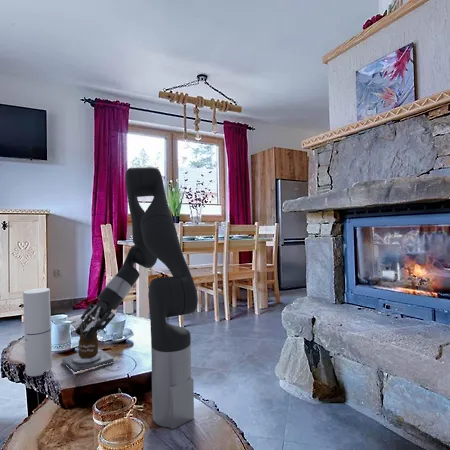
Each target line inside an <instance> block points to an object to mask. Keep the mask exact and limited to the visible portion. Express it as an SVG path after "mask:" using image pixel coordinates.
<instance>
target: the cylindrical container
mask: <svg viewBox="0 0 450 450" xmlns="http://www.w3.org/2000/svg"><path fill="white" fill-rule="evenodd" d="M50 290H51V289H50V288H47V287H40V288H39V287H38V288H37V287H36V288H31V289H30V288H29V289H26V290H24V291H22V294H23V295H22V297H23V298H22V299H23V301H22V302H23V324H24V325H23V327H24V330H23V331H24V357H25V358H24V359H25V360H24V362H25V375H26V376H29V377H39V376H42V375H44V374H43V373H44V372H45V371H47V370H50V369H51V368H52V369H53V351H52V349H53V347H52V322H51V320H52V318H51V293H50Z"/></svg>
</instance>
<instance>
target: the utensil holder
mask: <svg viewBox="0 0 450 450" xmlns="http://www.w3.org/2000/svg"><path fill="white" fill-rule="evenodd" d="M98 320H99V319H98ZM84 322H85V321H84ZM81 323H82V320H81V321H80V323H79V324H78V327H80V324H81ZM97 324H98V323H97ZM84 325H85V324H84ZM86 325H87V324H86ZM87 326H88V325H87ZM81 327H82V326H81ZM84 327H85V326H84ZM80 331H81V330H80ZM82 331H83V329H82ZM87 332H88V330H87V328H86V329H85V330H84V331H83V332H81V334H80V335H79V340H78V344H77V345H78V346H77V347H78V351H77V353H79V356H80V357H82V358H90V357H94V356H95V355H97V353H98V347H99V339H98V333H97V332H98V331H97V332H96V333H95V334H94V336H93V337H92V338H91V340H87V339H86V338H85V337H84V336H85V334H86V333H87Z"/></svg>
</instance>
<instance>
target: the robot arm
mask: <svg viewBox="0 0 450 450" xmlns="http://www.w3.org/2000/svg"><path fill="white" fill-rule="evenodd" d="M125 188H126V189H125V190H126V197H127V202H128V209H129V212H130V214H129V215H130V220H131V228H132V230H131V231H132V242H133V245H132V246H131V247H130V248H129V250H128V252H127V255H126V257H125V260H124V262H123V263H122V266H121V268H120V269H119V270H118V271H117V273H116V274H115V275H114V277H113V278H112V279H110V281H109V282H108V283H107V284H106V286H105V287H104V288H103V290H102V291H101V292H100V294H99V295H98V296H97V300H98V302H96V304H93V303H90V304H89V305H88V307H87V308H86V310H85V311H84V312H83V313H82V315H81V316H80V319H81V321H82V322H80V323H79V324H80V327H79V326H77V328H76V329H75V331H74V333H75V334H76V335H79V336H80V334H81V332H85V329H86V330H87V331H88V332H87V333H86V334H85V336H84V337H85V338H86V339H87V340H91V338H92V337H93V336H94V334H95V333H96V332H98V331H101V330H102V331H103V330H105V329H106V328H107V326H108V325H109V324H110V322H111V321H112V320H113V319H114V318H115V316H116V314H115V313H114V312H113V311H116V310H117V309H118V307H120V305H121V304H122V302H123V301H124V299H125V298H126V297H127V295H128V294H129V293H130V291H131V289H132V288H133V287H134V285H135V283H136V282H137V280H138V279H139V278H140V272H139V271H138V270H137V268H136V267H135V264H137V265H138V266H141V267H143V268H145V269H151V268H152V267H154V266H155V265H156V263H157V261H158V260H159V261H160V262H161V263H162V264H163V265H164V266H165V267H166V268H167V269H168V270H169V272H170V274H171V276H165V277H164V276H163V277H155V278H152V279H151V281H150V283H149V285H148V305H149V306H148V307H149V319H150V321H149V322H150V324H149V325H150V344H151V346H150V347H151V351H150V352H151V395H152V396H151V397H152V398H151V401H152V404H151V405H152V420H153V422H154V423H155V424H156V425H158V426H160V427H163V428H169V429H171V430H175V429H177V428H178V427H180V426H182V425H184V424H185V423H188V422H190V421H191V420H193V419H194V418H195V399H194V398H195V395H194V391H195V390H194V386H195V385H194V379H193V377H192V347H191V346H192V344H191V343H192V341H191V340H192V339H191V337H192V336H191V332H190V331H189V330H188V329H187V328H185V327H183V326H179V325H174V324H171V323H168V322H167V318H171V317H178V316H179V317H180V316H185V315H190V314H193V313H195V311H196V310H197V308H198V301H199V300H198V293H197V291H198V290H197V288H196V285H195V281H194V279H193V276H192V273H191V271H190V269H189V266H188V264H187V261H186V259H185V256H184V254H183V251H182V247H181V244H180V240H179V239H180V238H179V235H178V232H177V229H176V225H175V222H174V219H173V216H172V213H171V210H170V207H169V204H168V199H167V195H166V191H165V190H166V189H165V186H164V181H163V176H162V173H161V170H160V169H159V168H157V167H156V166H138V167H137V166H136V167H135V166H133V167H129V168H127V169H126V172H125ZM139 197H140V198H142V197H144V198H145V197H152V201H151V203H150V204H149V205H148V207H147V209H146V210H144V209H143V207H142V206H141V205H140V203H139V200H138V198H139ZM98 319H99V320H98ZM84 321H85V322H84ZM92 322H93V324H92V326H91V327H90V328H89V329H88V326H89V325H90V324H91V323H92ZM97 323H98V324H97ZM84 324H85V325H84ZM86 324H87V325H86ZM81 326H82V327H81ZM84 326H85V327H84ZM82 329H83V331H82ZM80 330H81V331H80Z"/></svg>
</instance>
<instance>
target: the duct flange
mask: <svg viewBox="0 0 450 450" xmlns="http://www.w3.org/2000/svg"><path fill="white" fill-rule="evenodd" d="M61 359H62V360H61V363H62V362H63V363H64V364H65V365H67V366H68V367H69V368H70V369H72V370H73V371H74V372H77V371H80V370H85V369H89V368H92V367H96V366H99V365H103V364H107V363H111V362H114V360H115V359H114V357H112V355H110V354H109V353H107V352H106V351H104V350H103V349H102V348H101V347H99V346H98V353H97V355H95V356H94V357H90V358H82V357H80V356H79V353H78V352H77V353H74V354H70V355H67V356H64V357H62V358H61ZM63 363H62V364H63ZM64 364H63V365H64ZM65 365H64V366H65Z"/></svg>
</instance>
